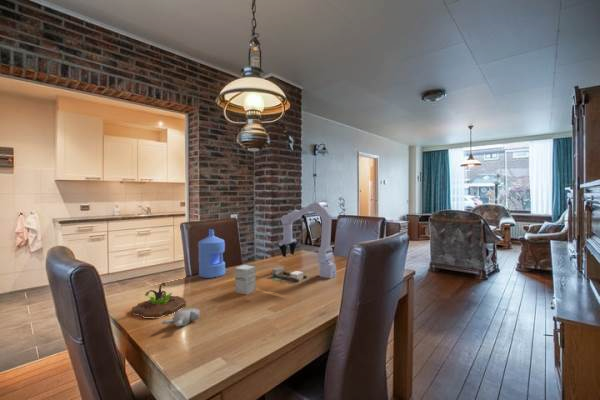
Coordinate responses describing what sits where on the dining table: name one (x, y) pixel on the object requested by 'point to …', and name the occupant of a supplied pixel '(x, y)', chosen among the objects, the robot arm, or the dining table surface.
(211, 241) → the water jug
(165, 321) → the bunny figurine
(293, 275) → the white block with bar
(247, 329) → the dining table surface
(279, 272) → the gauge board
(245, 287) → the supplement box
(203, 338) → the dining table surface
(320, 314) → the dining table surface
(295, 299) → the dining table surface
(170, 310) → the plant
